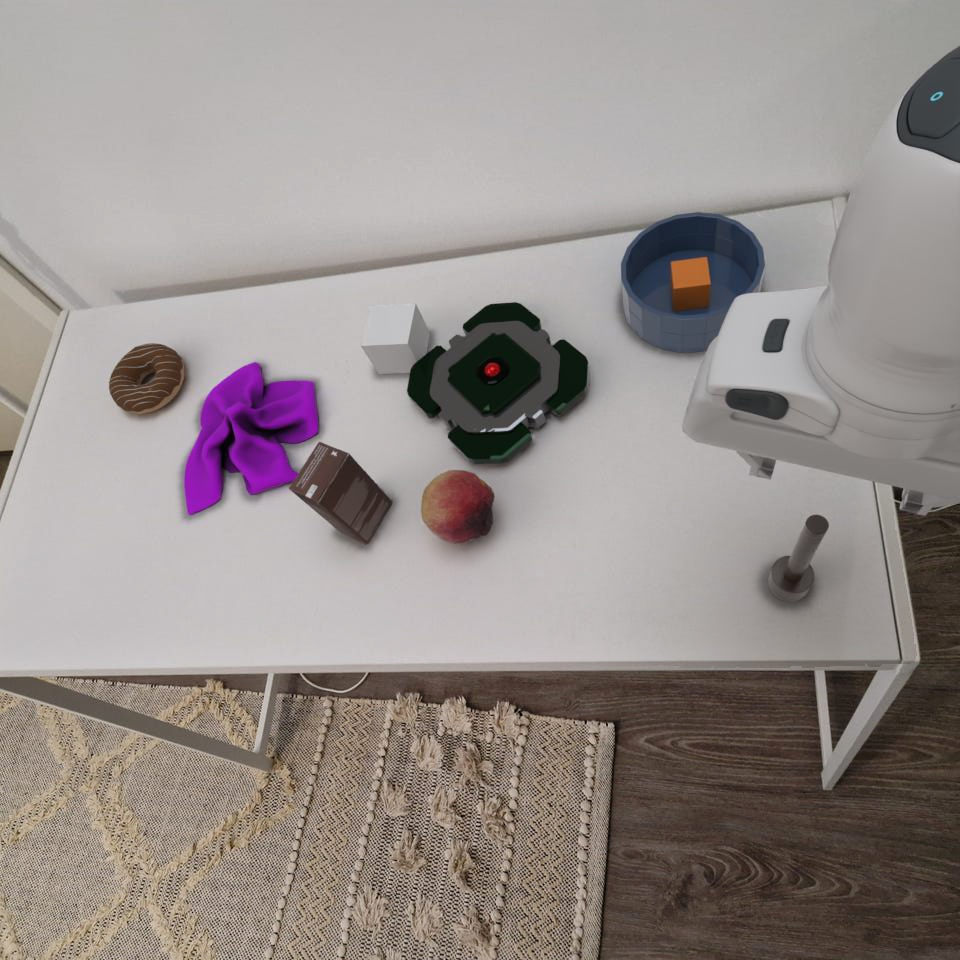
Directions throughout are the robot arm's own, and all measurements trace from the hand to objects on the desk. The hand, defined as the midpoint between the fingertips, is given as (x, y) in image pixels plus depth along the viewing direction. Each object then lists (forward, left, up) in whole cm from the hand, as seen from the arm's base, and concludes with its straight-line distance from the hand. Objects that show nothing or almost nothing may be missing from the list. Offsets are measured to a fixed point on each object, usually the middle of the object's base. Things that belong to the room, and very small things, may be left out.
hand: (834, 485), depth 48 cm
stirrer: (0, 0, -22) cm, 22 cm away
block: (+17, -31, -21) cm, 41 cm away
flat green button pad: (+35, -14, -22) cm, 44 cm away
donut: (+83, -3, -22) cm, 86 cm away
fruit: (+32, +3, -22) cm, 39 cm away
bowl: (+17, -31, -22) cm, 42 cm away
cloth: (+64, +1, -22) cm, 68 cm away
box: (+44, +6, -22) cm, 50 cm away
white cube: (+49, -16, -22) cm, 56 cm away
